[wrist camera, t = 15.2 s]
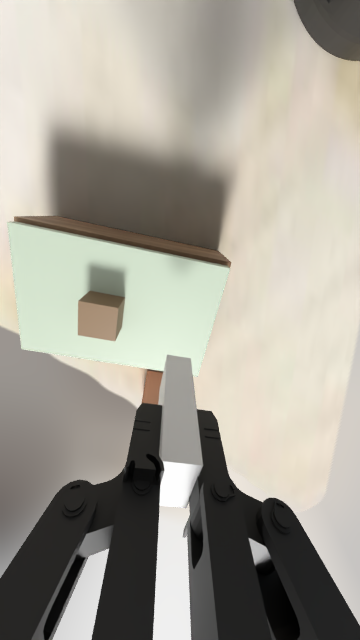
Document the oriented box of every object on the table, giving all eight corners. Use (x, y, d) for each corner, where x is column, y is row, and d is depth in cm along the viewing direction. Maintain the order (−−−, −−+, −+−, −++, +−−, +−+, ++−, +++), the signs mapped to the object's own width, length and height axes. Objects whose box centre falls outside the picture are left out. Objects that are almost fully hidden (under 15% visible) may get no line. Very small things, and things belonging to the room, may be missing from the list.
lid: (15, 221, 18) (-20, 223, 14) (227, 265, 19) (237, 276, 16) (27, 343, 22) (3, 364, 19) (196, 370, 24) (199, 394, 21)
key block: (147, 370, 33) (136, 429, 24) (180, 375, 33) (182, 435, 24) (143, 395, 35) (131, 458, 26) (174, 400, 36) (173, 463, 26)
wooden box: (57, 216, 24) (14, 216, 18) (217, 250, 26) (231, 262, 19) (59, 315, 29) (26, 344, 23) (194, 339, 31) (198, 371, 24)
